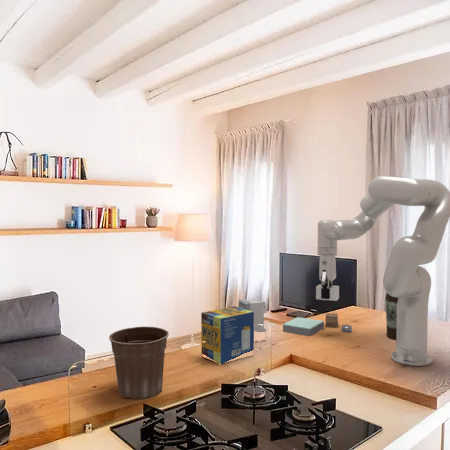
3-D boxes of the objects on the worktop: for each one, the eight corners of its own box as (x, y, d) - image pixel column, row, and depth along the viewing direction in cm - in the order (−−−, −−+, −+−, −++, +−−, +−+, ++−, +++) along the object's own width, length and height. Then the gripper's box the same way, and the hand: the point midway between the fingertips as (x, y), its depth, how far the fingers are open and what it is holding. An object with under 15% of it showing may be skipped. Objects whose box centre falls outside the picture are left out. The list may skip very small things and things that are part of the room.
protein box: (200, 357, 156) (200, 312, 155) (234, 348, 165) (234, 305, 165) (220, 365, 148) (220, 318, 147) (254, 355, 157) (254, 310, 157)
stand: (310, 336, 180) (310, 328, 180) (282, 331, 187) (282, 324, 187) (323, 328, 192) (323, 321, 191) (297, 323, 198) (297, 317, 198)
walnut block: (337, 328, 192) (337, 316, 192) (325, 327, 193) (325, 315, 193) (337, 325, 197) (337, 313, 196) (325, 324, 198) (326, 313, 198)
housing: (336, 300, 176) (336, 286, 176) (316, 299, 179) (316, 284, 179) (338, 298, 181) (339, 283, 180) (318, 296, 184) (318, 282, 184)
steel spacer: (353, 332, 185) (353, 327, 185) (344, 332, 185) (344, 328, 184) (349, 329, 189) (349, 324, 189) (340, 329, 189) (340, 324, 188)
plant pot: (124, 409, 116) (123, 346, 115) (101, 388, 129) (100, 332, 128) (179, 393, 126) (179, 335, 125) (152, 375, 139) (152, 323, 138)
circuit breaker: (224, 339, 176) (223, 301, 175) (257, 335, 181) (257, 298, 180) (231, 345, 169) (231, 305, 168) (265, 340, 174) (265, 302, 173)
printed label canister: (397, 331, 185) (397, 270, 184) (420, 338, 176) (420, 274, 175) (379, 335, 180) (379, 273, 179) (402, 342, 171) (402, 276, 170)
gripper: (332, 254, 170) (332, 302, 171) (340, 249, 185) (340, 294, 186) (312, 253, 173) (312, 300, 174) (322, 249, 189) (322, 292, 189)
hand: (326, 296), depth 180 cm, fingers closed on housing, 5 cm apart
